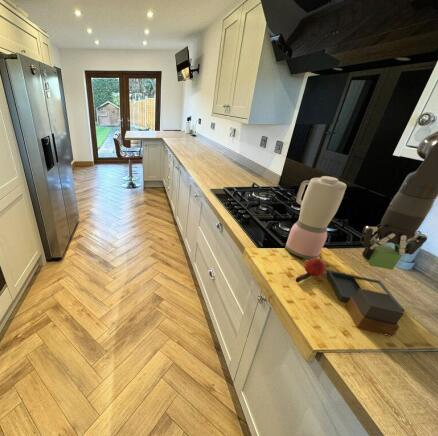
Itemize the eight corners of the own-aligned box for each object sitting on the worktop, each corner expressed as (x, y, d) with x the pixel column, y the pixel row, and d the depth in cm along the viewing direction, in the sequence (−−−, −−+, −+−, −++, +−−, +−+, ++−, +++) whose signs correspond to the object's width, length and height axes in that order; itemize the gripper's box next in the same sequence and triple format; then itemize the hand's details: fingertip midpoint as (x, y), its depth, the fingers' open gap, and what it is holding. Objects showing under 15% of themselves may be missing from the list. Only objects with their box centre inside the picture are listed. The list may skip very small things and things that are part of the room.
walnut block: (376, 314, 70) (383, 304, 68) (392, 336, 63) (399, 326, 61) (345, 306, 72) (350, 297, 70) (356, 327, 65) (363, 317, 63)
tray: (377, 285, 81) (380, 280, 80) (400, 315, 70) (404, 310, 69) (325, 274, 85) (327, 270, 85) (339, 301, 74) (342, 295, 73)
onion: (322, 283, 81) (331, 264, 78) (303, 278, 83) (311, 260, 79) (318, 273, 86) (326, 255, 83) (300, 269, 88) (307, 251, 84)
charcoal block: (382, 305, 67) (389, 294, 66) (396, 324, 62) (404, 313, 60) (353, 298, 69) (359, 288, 68) (364, 316, 63) (371, 305, 62)
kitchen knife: (297, 283, 80) (299, 278, 79) (294, 281, 81) (296, 277, 80) (327, 269, 88) (329, 265, 87) (324, 267, 89) (326, 263, 88)
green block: (382, 259, 74) (390, 246, 71) (392, 269, 69) (401, 255, 67) (361, 255, 75) (368, 242, 73) (370, 265, 70) (378, 251, 68)
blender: (325, 258, 95) (360, 182, 81) (304, 264, 91) (336, 184, 77) (291, 239, 108) (316, 170, 94) (271, 243, 104) (294, 172, 90)
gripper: (382, 210, 63) (355, 262, 70) (452, 220, 59) (415, 273, 66) (369, 201, 69) (345, 249, 77) (430, 209, 65) (399, 259, 73)
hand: (377, 260), depth 72 cm, fingers closed on green block, 5 cm apart
